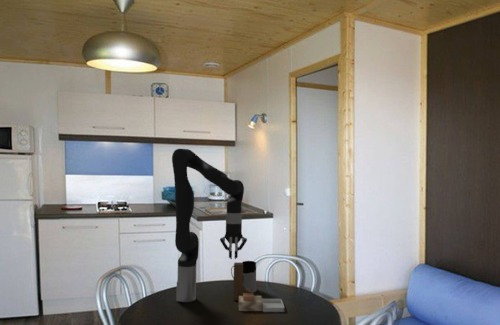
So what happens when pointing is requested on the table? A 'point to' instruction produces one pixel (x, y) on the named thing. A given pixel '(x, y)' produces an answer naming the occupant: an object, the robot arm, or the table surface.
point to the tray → (273, 305)
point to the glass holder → (249, 275)
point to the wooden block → (239, 282)
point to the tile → (248, 296)
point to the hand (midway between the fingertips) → (233, 258)
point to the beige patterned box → (251, 304)
